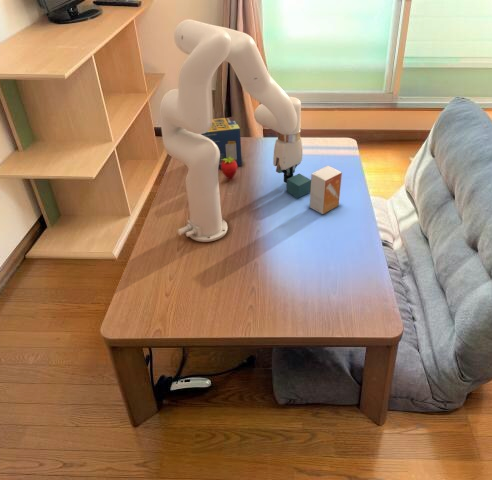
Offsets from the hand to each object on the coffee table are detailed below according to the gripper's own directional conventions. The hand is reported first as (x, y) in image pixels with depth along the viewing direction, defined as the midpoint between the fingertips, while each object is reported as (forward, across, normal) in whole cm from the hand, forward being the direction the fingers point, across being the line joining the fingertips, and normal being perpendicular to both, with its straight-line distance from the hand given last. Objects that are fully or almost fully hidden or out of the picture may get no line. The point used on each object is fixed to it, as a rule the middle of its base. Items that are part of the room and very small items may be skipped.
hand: (288, 182), depth 174 cm
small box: (+2, 0, +18) cm, 18 cm away
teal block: (+1, 0, +6) cm, 6 cm away
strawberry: (+2, +13, -17) cm, 22 cm away
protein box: (+2, +8, -30) cm, 31 cm away
